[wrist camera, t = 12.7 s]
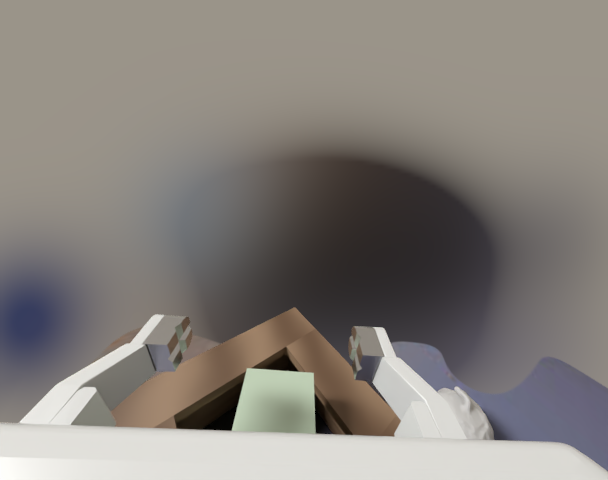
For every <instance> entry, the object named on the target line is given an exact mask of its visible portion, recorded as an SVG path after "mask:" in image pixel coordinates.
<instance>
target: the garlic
mask: <svg viewBox="0 0 608 480" xmlns="http://www.w3.org/2000/svg"><path fill="white" fill-rule="evenodd" d="M454 389H455V391H453V390H450V389H447V388H442V389H440V390H439V391H438V392H437V393H438V394H439V395H441V396H442V397H443V398H444V399H445V400H446V401H447V402H448V404H449V406H450V408H451V410H452V411H453V413H454V415H455V417H456V419H457V421H458V423H459V425H460V426H461V428H462V430H463V432H464V434H465V436H466V438H467V439H479V440H494V432H493V429H492V427H491V424H490V422H489V421H488V419H487V416H486V415H485V414H484V412H483V411H482V410H481V408H480V406H479V405H478V404H477V403H476V402H475V401H473V400H472V399H471V398H470V397H469V396H468V395H467V393H466V392H465V391H463V390H461V389H460V388H459V387H455V388H454Z"/></svg>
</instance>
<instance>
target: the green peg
mask: <svg viewBox="0 0 608 480" xmlns="http://www.w3.org/2000/svg"><path fill="white" fill-rule="evenodd" d="M232 431H254V432H282V433H309V434H316V429H315V399H314V373H308V372H294V371H280V370H266V369H252V368H247V371H246V375H245V379H244V383H243V387H242V391H241V395H240V399H239V403H238V407H237V411H236V415H235V419H234V423H233V427H232Z"/></svg>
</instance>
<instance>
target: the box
mask: <svg viewBox="0 0 608 480" xmlns="http://www.w3.org/2000/svg"><path fill="white" fill-rule="evenodd" d="M247 368H252V369H266V370H280V371H287V370H289V371H294V372H308V373H314V399H315V409H316V410H317V412H318V413H319V415H320V416H321V418H322V419H323V420H324V422H325V423H326V425H327V426H328V428H329V429H330V430H331V432H332V433H333V434H337V435H365V436H393V437H395V435H394V433H395V431H396V429H397V428H398V426H399V424H400V422H401V420H400V419H399V418H398V416H397V415H396V414H395V412H394V411H393V410H392V408H391V407H390V406H389V405H388V404H387V403H386V402H385V401H384V400H383V399H382V398H381V397H380V396H379V395H378V394H377V393H376V392H375V391H374V390H373V389H372V388H371V387H370V385H369V384H368V383H367V382H366V381H359V380H355V379H354V374H353V369H352V367H351V366H350V365H349V364H348V362H347V361H346V360H345V359H344V358H343V357H342V356H341V355H340V354H339V353H338V352H337V351H336V350H335V349H334V348H333V347H332V346H331V345H330V344H329V343H328V342H327V341H326V340H325V338H324V337H323V336H322V335H321V334H320V333H319V332H318V331H317V330H316V329H315V328H314V327H313V326H312V325H311V324H310V323H309V322H308V321H307V320H306V319H305V318H304V317H303V316H302V314H300V312H299V311H298V310H297V309H296V308H292V309H290V310H289V311H286V312H284V313H283V314H281V315H279V316H277V317H274V318H272V319H270V320H268V321H266V322H264V323H262V324H260V325H258V326H256V327H254V328H252V329H250V330H248V331H246V332H244V333H242V334H240V335H238V336H236V337H234V338H232V339H230V340H228V341H226V342H224V343H222V344H220V345H218V346H216V347H214V348H212V349H210V350H208V351H206V352H204V353H202V354H200V355H198V356H196V357H194V358H192V359H190V360H188V361H186V362H184V363H182V364H180V365H178V367H177V369H176V371H175V372H164V373H162V374H160V375H158V376H156V377H154V378H152V379H149V380H147V381H145V382H144V383H143V384H142V385H141V386H140V387H138V388H137V389H136V390H135V391H134V392H133V393H131V394H130V395H129V396H128V397H127V398H126V399H125V400H123V401H122V402H121V403H120V404H119V405H118V406H116V407H115V408H114V409H113V410H112V411H111V413H112V415H113V417H114V418H115V420H116V425H115V427H140V428H169V429H197V430H201V429H203V428H204V427H206V426H207V425H209V424H210V423H212V422H213V421H214V420H216V419H217V418H219V417H220V416H222V415H223V414H225V413H226V412H227V411H229V410H230V409H232V408H233V407H235V406H236V405H238V403H239V399H240V395H241V391H242V387H243V383H244V379H245V375H246V371H247Z"/></svg>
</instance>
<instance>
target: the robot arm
mask: <svg viewBox="0 0 608 480" xmlns="http://www.w3.org/2000/svg"><path fill="white" fill-rule="evenodd" d="M189 323H190V320H189V317H182V316H171V315H157V314H156V315H154V316H152V317H151V318H150V320H149V321H148V322H147V323H146V325H145V326H144V327H143V328H142V329H141V331H140V332H139V333H138V334H137V336H136V337H135V338H134V339H133V340H132V342H131V343H130V344H125V345H123V346H121V347H120V348H118V349H116V350H115V351H113V352H111V353H109V354H108V355H106V356H104V357H103V358H101V359H99V360H97V361H96V362H94V363H92V364H91V365H89V366H87V367H85V368H84V369H82V370H80V371H79V372H77V373H75V374H73V375H72V376H70V377H68V378H67V379H65V380H63V381H62V382H60V383H58V384H56V385H55V387H53V389H52V390H51V391H50V392H49V393H48V394H47V395H46V396H45V397H44V398H43V399H42V400H41V401H40V402H39V403H38V404H37V405H36V406H35V407H34V408H33V409H32V410H31V411H30V412H29V413H28V414H27V415H26V416H25V417H24V418H23V419H22V420H21V421H20V422H19V423H0V480H608V471H606V470H605V469H604V468H602V467H601V466H599V465H598V464H597V463H595V462H594V461H593V460H591V459H590V458H588V457H587V456H585V455H584V454H582V453H581V452H579V451H578V450H577V449H575V448H574V447H571V446H569V445H567V444H564V443H557V442H536V441H507V440H479V439H467V438H466V436H465V434H464V432H463V430H462V428H461V426H460V425H459V423H458V421H457V419H456V417H455V415H454V413H453V411H452V410H451V408H450V406H449V404H448V402H447V401H446V400H445V399H444V398H443V397H442V396H441V395H439V394H438V393H437V392H436V391H435V390H434V389H433V388H432V387H431V386H430V385H429V384H428V383H426V382H425V381H424V380H423V379H422V378H421V377H420V376H419V375H418V374H417V373H416V372H415V371H413V370H412V369H411V368H410V367H409V366H408V365H407V364H406V363H405V362H404V361H403V360H402V359H400V358H397V357H396V355H395V352H394V350H393V348H392V345H391V343H390V341H389V338H388V336H387V334H386V331H385V329H384V328H379V327H360V326H354V327H353V328H352V336H351V337H350V339H349V355H350V358H351V359H352V360H353V364H352V369H353V374H354V379H355V380H359V381H372V383H373V384H374V385H375V387H376V388H377V389H378V391H379V392H380V393H381V395H382V396H383V397H384V399H385V400H386V401H387V403H388V404H389V405H390V407H391V408H392V410H393V411H394V412H395V414H396V415H397V416H398V418H399V419H400V420H401V422H400V424H399V426H398V428H397V429H396V431H395V433H394V435H395V437H393V436H365V435H337V434H309V433H282V432H254V431H226V430H197V429H169V428H140V427H115V425H116V420H115V418H114V417H113V415H112V413H111V411H112V410H113V409H114V408H115V407H116V406H118V405H119V404H120V403H121V402H122V401H123V400H125V399H126V398H127V397H128V396H129V395H130V394H131V393H133V392H134V391H135V390H136V389H137V388H138V387H140V386H141V385H142V384H143V383H144V382H145V381H147V380H148V379H149V378H150V377H151V376H152V375H153V374H155V373H156V372H155V371H162V372H175V371H176V369H177V367H178V365H179V364H180V362H181V360H182V353H183V352H184V351H185V350H187V349H188V347H189V345H190V342H191V339H192V329H191V328H190V327H189V326H188V325H189Z"/></svg>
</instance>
